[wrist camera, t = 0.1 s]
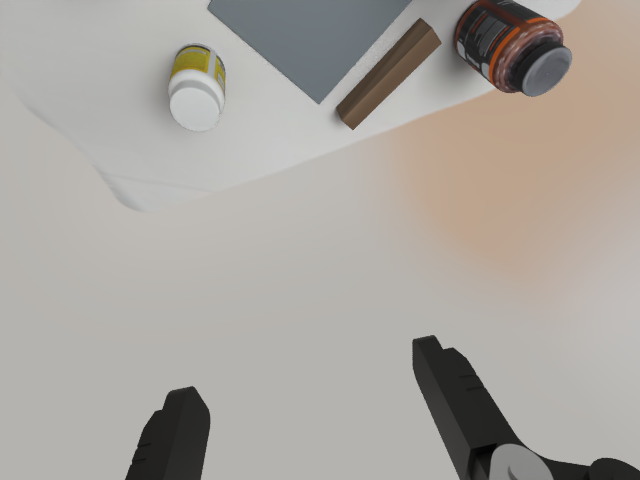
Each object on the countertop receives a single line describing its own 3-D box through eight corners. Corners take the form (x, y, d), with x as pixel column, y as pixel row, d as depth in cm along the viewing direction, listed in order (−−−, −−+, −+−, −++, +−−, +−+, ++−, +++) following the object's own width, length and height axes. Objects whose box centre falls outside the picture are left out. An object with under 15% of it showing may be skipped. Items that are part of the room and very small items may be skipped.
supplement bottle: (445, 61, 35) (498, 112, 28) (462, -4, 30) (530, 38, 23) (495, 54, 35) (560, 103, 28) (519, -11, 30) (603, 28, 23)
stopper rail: (336, 107, 37) (341, 120, 35) (420, 17, 31) (432, 27, 29) (347, 117, 38) (352, 130, 36) (429, 32, 32) (441, 43, 30)
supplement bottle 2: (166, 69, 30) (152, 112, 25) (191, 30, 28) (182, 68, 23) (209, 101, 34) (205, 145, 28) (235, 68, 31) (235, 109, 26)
